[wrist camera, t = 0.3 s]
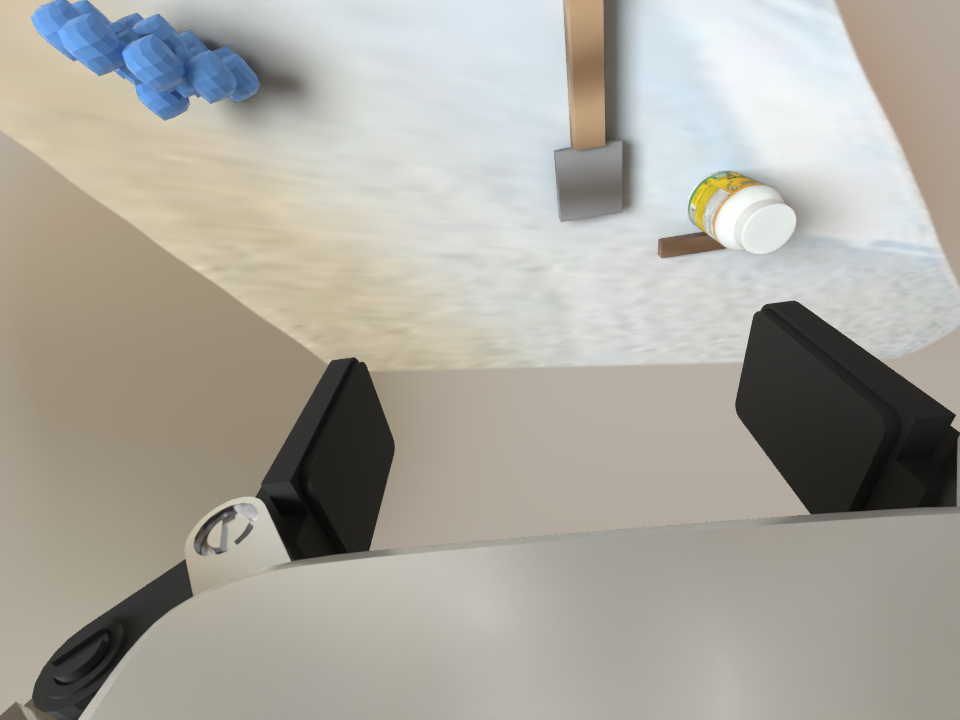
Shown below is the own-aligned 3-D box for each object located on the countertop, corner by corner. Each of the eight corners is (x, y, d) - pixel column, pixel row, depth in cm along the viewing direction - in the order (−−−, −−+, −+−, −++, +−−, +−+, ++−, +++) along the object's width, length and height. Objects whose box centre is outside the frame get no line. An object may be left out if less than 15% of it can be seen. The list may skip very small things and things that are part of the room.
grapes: (135, 88, 37) (2, 93, 27) (126, -9, 33) (-30, -46, 23) (274, 139, 39) (199, 161, 29) (280, 52, 35) (197, 43, 25)
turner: (540, -24, 32) (544, -32, 30) (615, -41, 32) (626, -51, 29) (558, 215, 42) (562, 224, 40) (615, 205, 42) (624, 214, 39)
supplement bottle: (673, 216, 42) (717, 249, 34) (708, 160, 39) (764, 182, 31) (719, 235, 43) (772, 272, 35) (756, 182, 40) (823, 209, 32)
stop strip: (658, 239, 43) (662, 242, 42) (763, 222, 42) (770, 225, 41) (657, 254, 44) (661, 258, 43) (760, 238, 43) (767, 241, 42)
